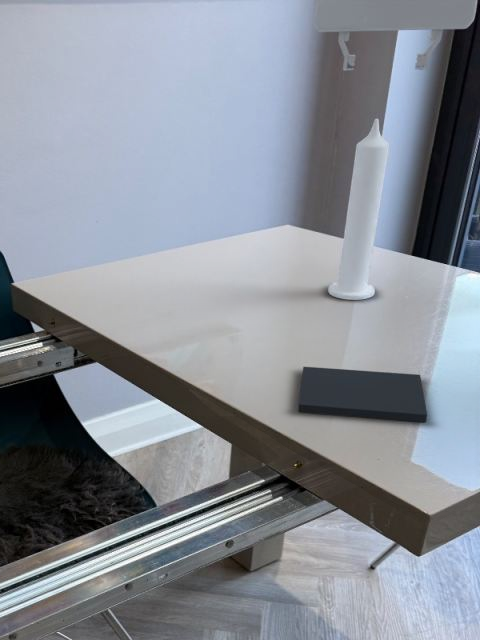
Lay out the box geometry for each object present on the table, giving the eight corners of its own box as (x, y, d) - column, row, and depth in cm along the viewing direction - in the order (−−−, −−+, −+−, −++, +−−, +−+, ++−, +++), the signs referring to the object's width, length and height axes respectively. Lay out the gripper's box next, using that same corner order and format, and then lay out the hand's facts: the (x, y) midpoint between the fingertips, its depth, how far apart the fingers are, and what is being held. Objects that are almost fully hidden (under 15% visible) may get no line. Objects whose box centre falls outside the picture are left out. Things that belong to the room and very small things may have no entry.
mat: (418, 381, 97) (420, 374, 96) (425, 422, 88) (427, 414, 88) (302, 373, 100) (303, 366, 100) (298, 412, 91) (299, 404, 91)
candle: (353, 282, 128) (378, 113, 114) (384, 295, 123) (414, 118, 109) (318, 290, 126) (340, 118, 112) (348, 303, 121) (374, 124, 107)
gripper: (317, -52, 99) (305, 73, 107) (492, -60, 94) (465, 71, 102) (319, -51, 104) (307, 68, 112) (485, -59, 99) (460, 66, 107)
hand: (384, 69), depth 107 cm, fingers open, 8 cm apart
